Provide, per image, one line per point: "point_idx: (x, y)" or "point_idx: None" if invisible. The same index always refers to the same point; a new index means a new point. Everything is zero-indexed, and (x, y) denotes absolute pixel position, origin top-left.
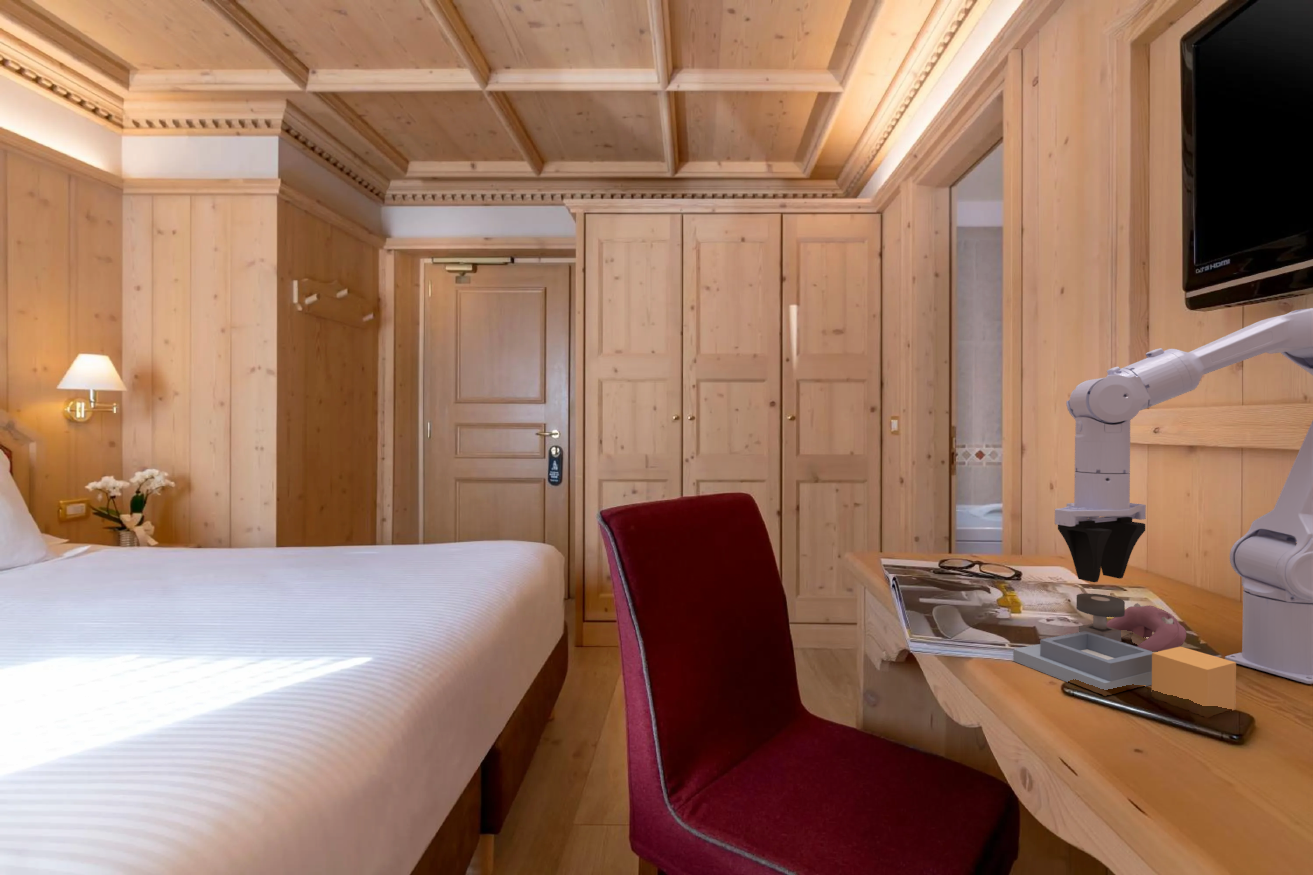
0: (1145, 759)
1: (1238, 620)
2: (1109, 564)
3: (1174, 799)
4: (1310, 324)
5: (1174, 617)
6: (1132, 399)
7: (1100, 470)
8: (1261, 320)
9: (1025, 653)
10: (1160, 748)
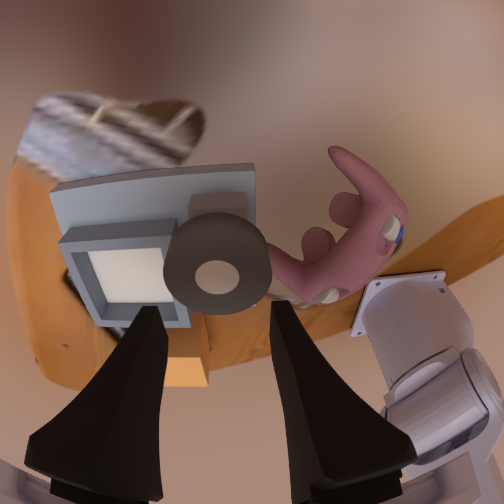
0: (63, 350)
1: None
2: (277, 346)
3: (55, 366)
4: None
5: (350, 294)
6: None
7: None
8: None
9: (55, 213)
10: (82, 349)
